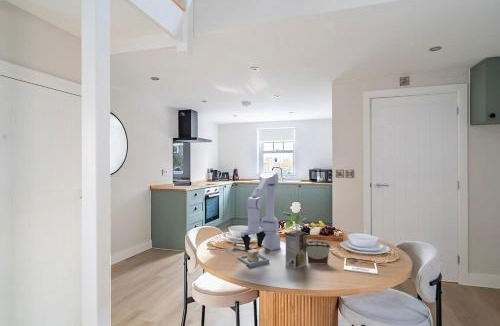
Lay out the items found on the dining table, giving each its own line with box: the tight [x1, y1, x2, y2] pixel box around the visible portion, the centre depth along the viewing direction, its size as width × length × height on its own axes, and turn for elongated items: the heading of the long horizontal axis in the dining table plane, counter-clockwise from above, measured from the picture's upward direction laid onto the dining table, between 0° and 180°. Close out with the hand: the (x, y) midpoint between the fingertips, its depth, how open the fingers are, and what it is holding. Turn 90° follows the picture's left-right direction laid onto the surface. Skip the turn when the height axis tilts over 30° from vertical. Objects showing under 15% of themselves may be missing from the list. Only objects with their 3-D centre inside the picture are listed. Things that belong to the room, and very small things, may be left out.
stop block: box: [246, 248, 260, 263], centre depth 145 cm, size 4×4×5 cm
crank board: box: [222, 246, 254, 256], centre depth 160 cm, size 15×13×2 cm
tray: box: [237, 253, 271, 269], centre depth 144 cm, size 12×12×2 cm
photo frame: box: [343, 257, 379, 275], centre depth 140 cm, size 15×1×18 cm
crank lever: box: [232, 237, 253, 249], centre depth 162 cm, size 12×3×5 cm, turn 62°
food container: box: [307, 240, 331, 265], centre depth 146 cm, size 12×6×10 cm, turn 84°
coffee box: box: [285, 230, 308, 271], centre depth 140 cm, size 9×6×16 cm
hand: (253, 248), depth 144 cm, fingers open, 7 cm apart
